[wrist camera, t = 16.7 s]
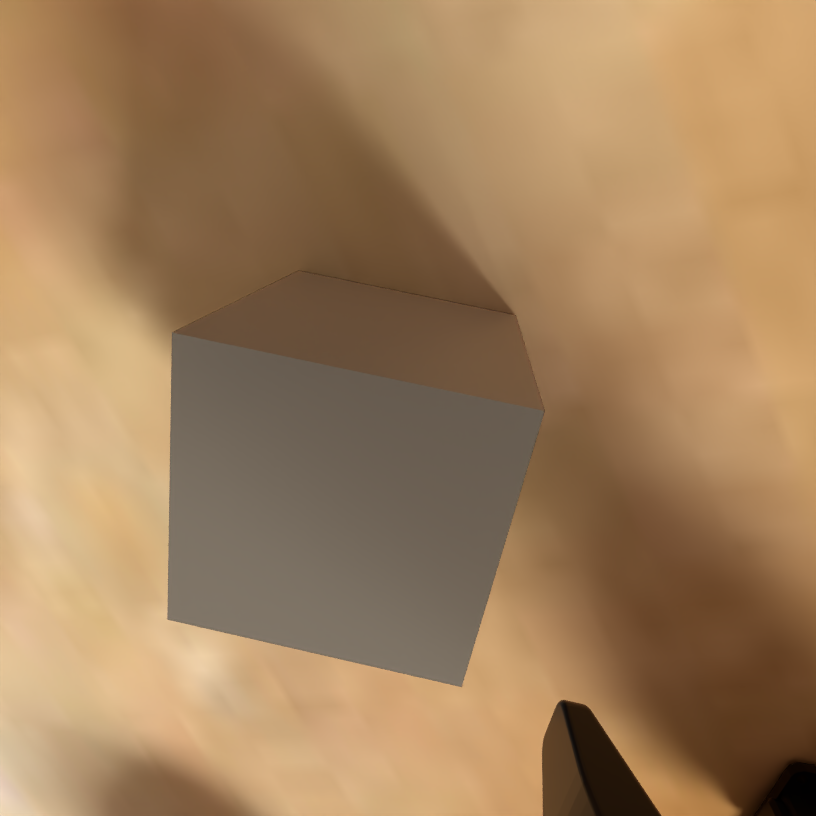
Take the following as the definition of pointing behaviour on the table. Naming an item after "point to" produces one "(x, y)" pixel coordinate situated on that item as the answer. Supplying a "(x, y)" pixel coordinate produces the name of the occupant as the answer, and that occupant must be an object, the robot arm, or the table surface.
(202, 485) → the grey cube
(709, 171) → the table surface
